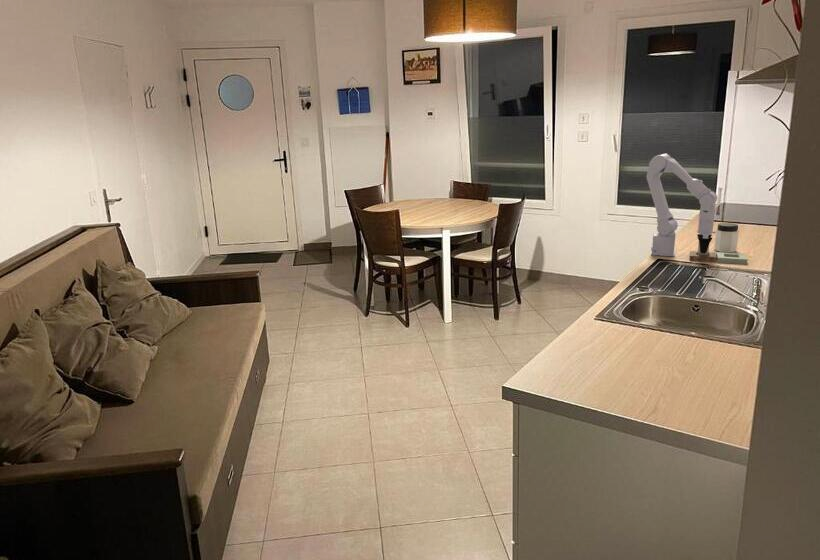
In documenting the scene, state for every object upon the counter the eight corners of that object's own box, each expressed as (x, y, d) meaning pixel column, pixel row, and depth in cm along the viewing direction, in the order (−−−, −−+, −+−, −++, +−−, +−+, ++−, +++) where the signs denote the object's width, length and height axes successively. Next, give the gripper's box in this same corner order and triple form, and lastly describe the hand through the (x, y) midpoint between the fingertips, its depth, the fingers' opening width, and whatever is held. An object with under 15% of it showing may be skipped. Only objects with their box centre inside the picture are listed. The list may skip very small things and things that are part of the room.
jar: (739, 252, 272) (742, 226, 269) (721, 253, 272) (724, 226, 269) (728, 248, 281) (731, 222, 278) (711, 248, 281) (714, 223, 278)
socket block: (689, 260, 261) (690, 255, 260) (689, 255, 270) (689, 250, 269) (715, 262, 257) (716, 257, 257) (714, 256, 266) (715, 252, 265)
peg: (697, 259, 262) (699, 241, 260) (697, 257, 266) (698, 239, 264) (707, 259, 261) (709, 241, 259) (707, 257, 264) (709, 239, 262)
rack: (717, 262, 256) (717, 257, 256) (715, 256, 266) (716, 252, 266) (746, 264, 252) (747, 259, 252) (744, 258, 262) (744, 253, 262)
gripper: (717, 224, 251) (714, 256, 255) (715, 218, 264) (712, 248, 268) (698, 223, 254) (695, 255, 257) (697, 217, 267) (694, 247, 270)
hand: (703, 251), depth 263 cm, fingers closed on peg, 4 cm apart
